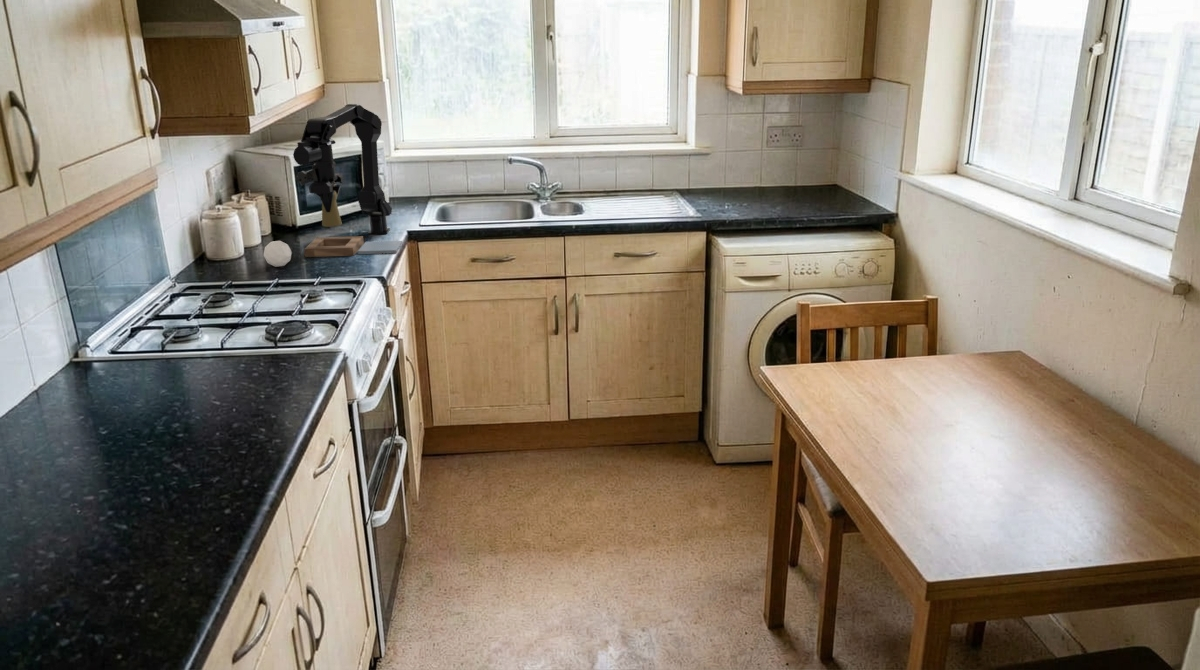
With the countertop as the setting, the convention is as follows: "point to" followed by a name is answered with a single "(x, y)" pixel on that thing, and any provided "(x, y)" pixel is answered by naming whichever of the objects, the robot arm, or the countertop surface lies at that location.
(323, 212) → the cork
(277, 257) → the ball
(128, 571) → the countertop surface
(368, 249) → the mat
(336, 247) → the pocket frame
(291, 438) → the countertop surface
